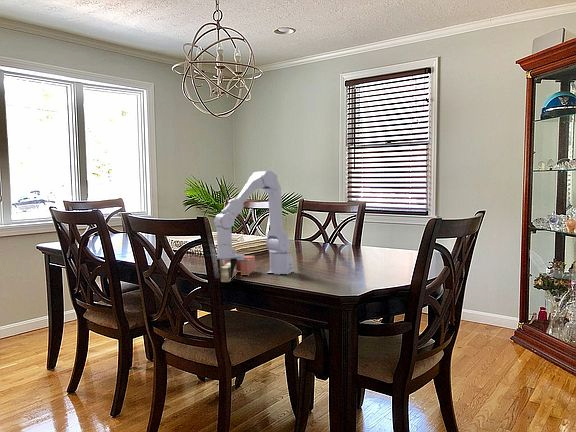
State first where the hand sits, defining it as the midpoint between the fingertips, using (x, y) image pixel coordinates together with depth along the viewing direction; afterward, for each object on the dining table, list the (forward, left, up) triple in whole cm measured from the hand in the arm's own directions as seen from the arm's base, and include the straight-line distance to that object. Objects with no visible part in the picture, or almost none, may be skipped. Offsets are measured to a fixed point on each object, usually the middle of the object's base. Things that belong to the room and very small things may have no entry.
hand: (225, 278), depth 191 cm
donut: (+14, -26, -2) cm, 29 cm away
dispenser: (+3, -16, -1) cm, 16 cm away
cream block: (+1, -5, -1) cm, 5 cm away
